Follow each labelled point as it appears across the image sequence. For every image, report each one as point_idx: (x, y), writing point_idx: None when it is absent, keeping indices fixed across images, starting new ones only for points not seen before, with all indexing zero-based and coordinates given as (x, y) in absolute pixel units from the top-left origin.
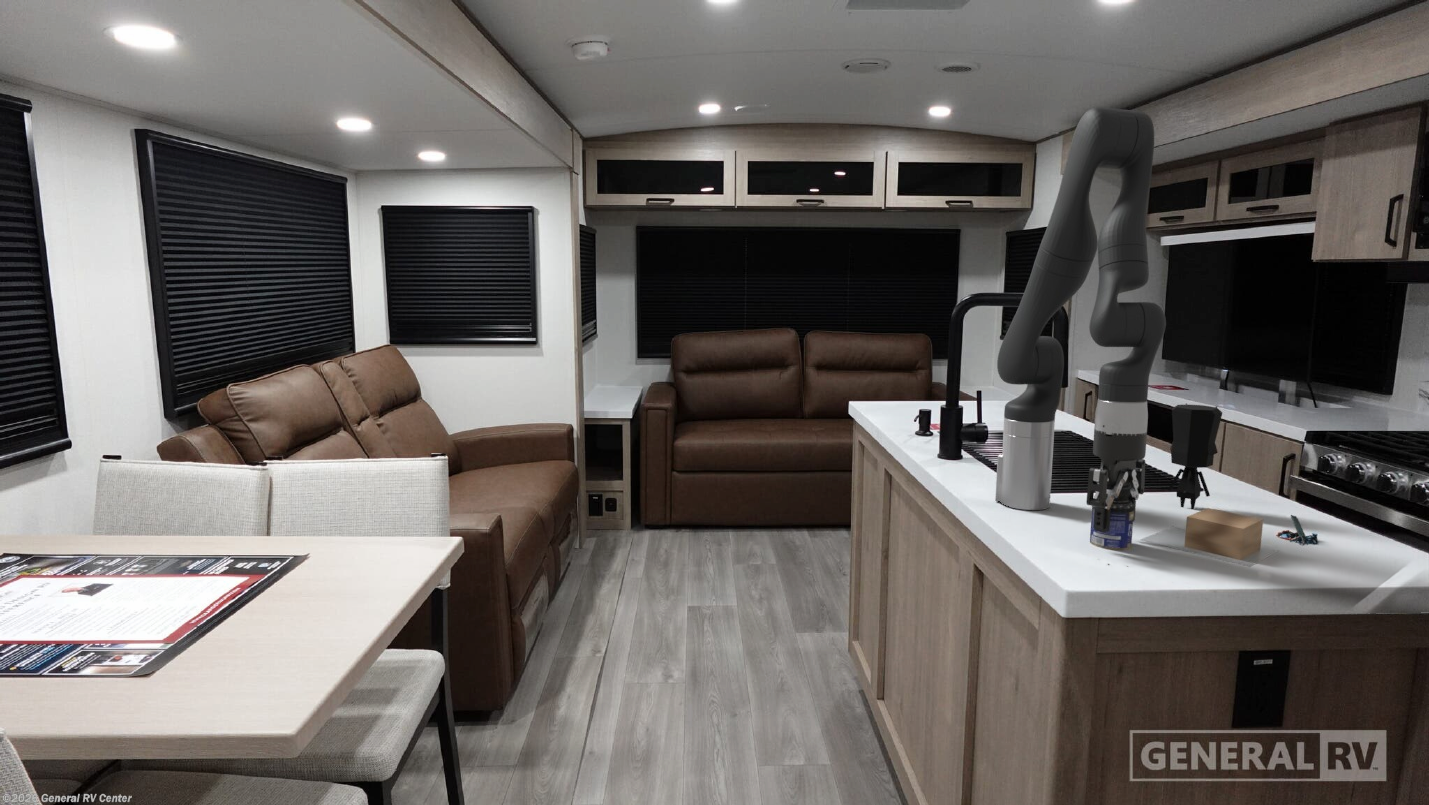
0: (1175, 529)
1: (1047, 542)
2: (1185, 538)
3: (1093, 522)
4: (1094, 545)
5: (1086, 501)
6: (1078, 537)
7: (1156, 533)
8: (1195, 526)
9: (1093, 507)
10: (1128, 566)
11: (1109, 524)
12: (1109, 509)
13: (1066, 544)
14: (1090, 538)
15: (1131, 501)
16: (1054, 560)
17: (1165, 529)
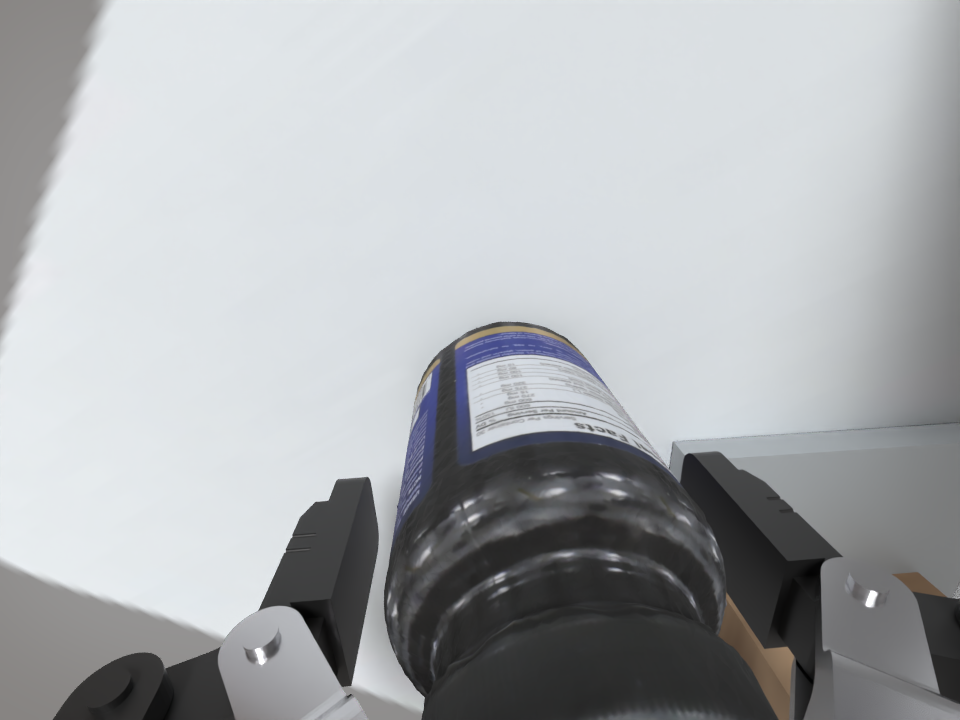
0: None
1: (351, 122)
2: (739, 621)
3: (418, 440)
4: (418, 392)
5: (66, 702)
6: (597, 184)
7: (847, 453)
8: (776, 714)
9: (420, 502)
10: (383, 534)
11: (369, 580)
12: (347, 681)
13: (418, 219)
14: (445, 362)
15: (766, 627)
16: (135, 334)
17: (948, 444)
